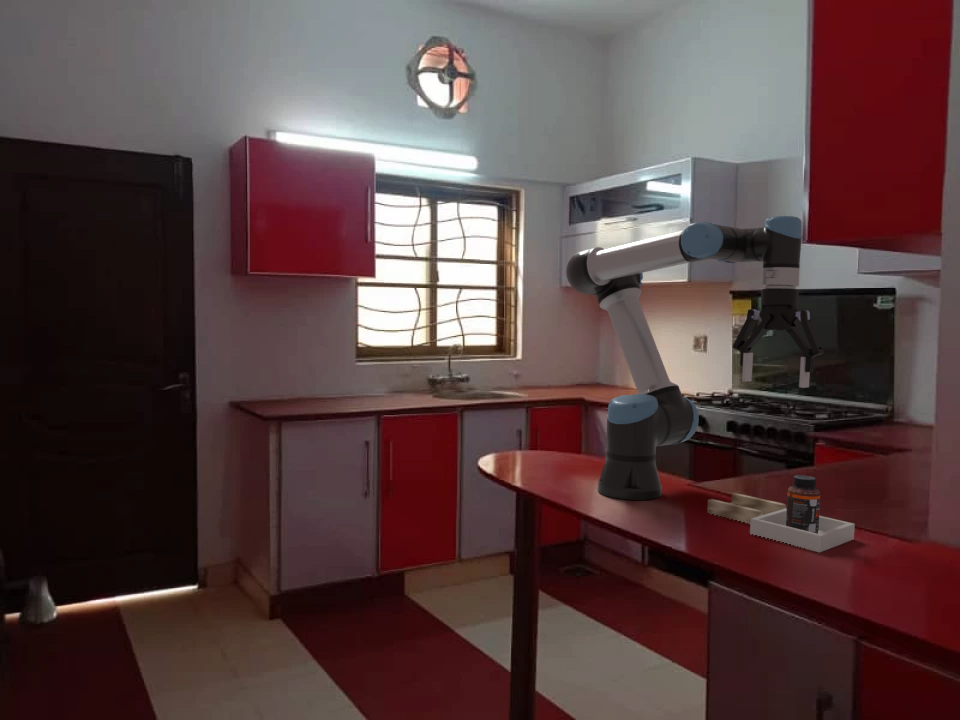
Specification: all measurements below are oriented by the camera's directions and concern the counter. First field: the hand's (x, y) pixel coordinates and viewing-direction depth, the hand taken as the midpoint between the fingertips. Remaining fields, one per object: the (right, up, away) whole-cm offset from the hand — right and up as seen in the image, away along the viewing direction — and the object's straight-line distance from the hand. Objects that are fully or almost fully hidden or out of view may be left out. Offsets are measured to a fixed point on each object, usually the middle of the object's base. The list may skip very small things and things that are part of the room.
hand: (774, 384), depth 164 cm
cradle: (-7, -28, -3) cm, 29 cm away
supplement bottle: (-2, -29, -18) cm, 34 cm away
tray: (-2, -29, -18) cm, 34 cm away
